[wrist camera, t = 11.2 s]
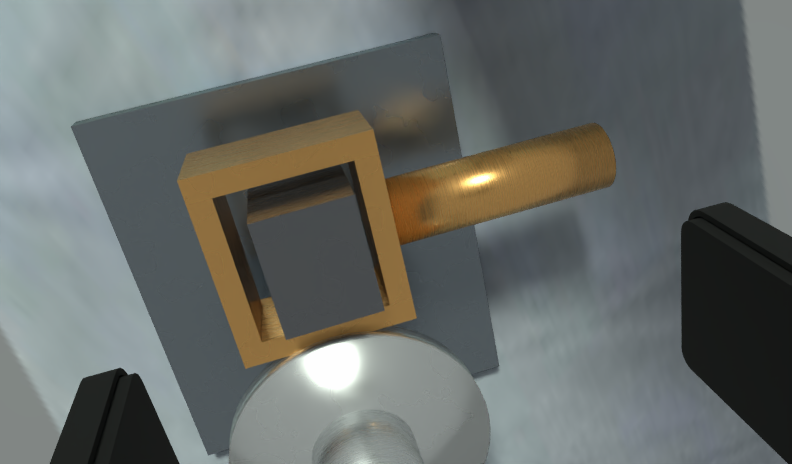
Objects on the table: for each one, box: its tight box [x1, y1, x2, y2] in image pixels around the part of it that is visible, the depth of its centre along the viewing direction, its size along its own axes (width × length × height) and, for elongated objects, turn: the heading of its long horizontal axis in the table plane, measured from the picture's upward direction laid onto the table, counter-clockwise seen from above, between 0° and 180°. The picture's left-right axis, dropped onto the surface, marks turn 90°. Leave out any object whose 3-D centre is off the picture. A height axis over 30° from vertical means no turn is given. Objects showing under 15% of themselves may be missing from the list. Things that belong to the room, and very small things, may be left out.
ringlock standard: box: [71, 33, 616, 464], centre depth 30 cm, size 22×23×15 cm
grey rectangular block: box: [247, 164, 385, 340], centre depth 30 cm, size 5×4×10 cm
